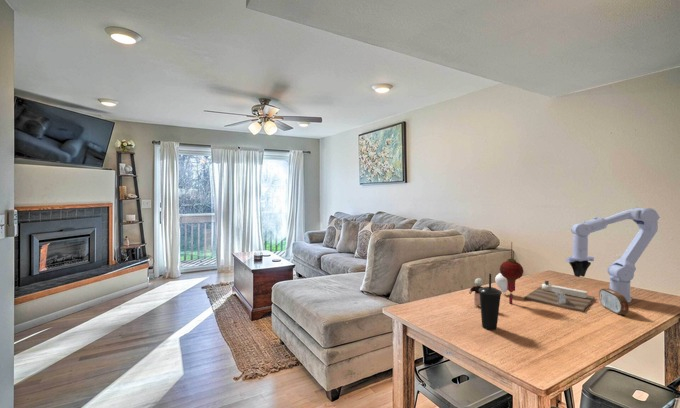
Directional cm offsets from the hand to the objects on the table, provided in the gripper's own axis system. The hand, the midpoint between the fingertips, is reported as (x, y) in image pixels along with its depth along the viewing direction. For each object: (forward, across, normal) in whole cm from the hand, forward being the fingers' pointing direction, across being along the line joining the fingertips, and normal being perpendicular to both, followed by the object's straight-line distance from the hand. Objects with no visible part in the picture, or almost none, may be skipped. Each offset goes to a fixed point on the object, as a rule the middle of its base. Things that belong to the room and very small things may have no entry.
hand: (579, 276), depth 151 cm
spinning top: (+10, +35, -9) cm, 37 cm away
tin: (+10, +5, +19) cm, 22 cm away
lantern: (+10, +41, +3) cm, 42 cm away
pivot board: (+9, +14, +2) cm, 17 cm away
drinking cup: (+10, +68, +23) cm, 72 cm away
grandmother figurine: (+10, +58, +3) cm, 59 cm away
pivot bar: (+8, +8, -1) cm, 11 cm away
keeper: (+8, +19, +6) cm, 22 cm away
